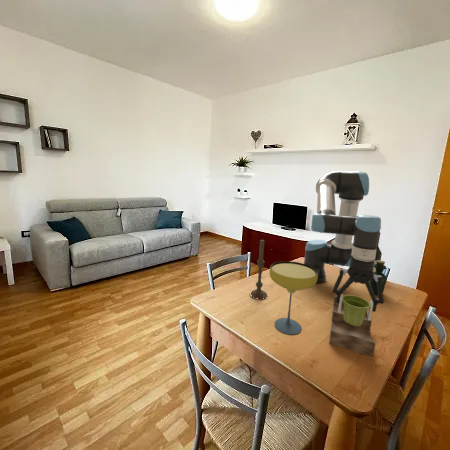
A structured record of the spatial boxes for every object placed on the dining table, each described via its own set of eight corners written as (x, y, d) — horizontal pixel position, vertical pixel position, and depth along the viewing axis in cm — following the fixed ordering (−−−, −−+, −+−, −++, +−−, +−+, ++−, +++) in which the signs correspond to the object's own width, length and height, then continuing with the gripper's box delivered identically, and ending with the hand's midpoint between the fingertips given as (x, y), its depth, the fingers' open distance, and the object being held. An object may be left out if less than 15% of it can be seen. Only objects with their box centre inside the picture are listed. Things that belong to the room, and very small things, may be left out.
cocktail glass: (304, 347, 87) (311, 283, 82) (258, 329, 96) (262, 271, 91) (315, 322, 102) (322, 267, 97) (274, 309, 111) (279, 258, 106)
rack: (329, 343, 90) (331, 331, 89) (333, 305, 116) (334, 296, 115) (372, 356, 84) (375, 343, 83) (366, 314, 110) (368, 303, 109)
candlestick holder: (247, 297, 121) (250, 239, 115) (252, 289, 130) (255, 235, 124) (265, 301, 118) (269, 242, 112) (269, 293, 126) (273, 238, 120)
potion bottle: (385, 292, 131) (391, 261, 128) (382, 297, 126) (388, 265, 122) (368, 287, 137) (373, 257, 133) (365, 292, 131) (370, 261, 127)
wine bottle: (359, 274, 156) (366, 229, 149) (371, 274, 156) (379, 229, 150) (367, 279, 147) (375, 232, 141) (380, 279, 148) (389, 232, 142)
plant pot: (359, 315, 96) (363, 295, 94) (371, 330, 87) (375, 308, 85) (335, 313, 97) (338, 293, 95) (344, 328, 88) (347, 306, 86)
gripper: (329, 255, 88) (321, 311, 93) (401, 267, 79) (389, 328, 83) (330, 250, 95) (323, 302, 99) (397, 260, 85) (386, 317, 90)
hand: (353, 314), depth 91 cm, fingers closed on plant pot, 9 cm apart
